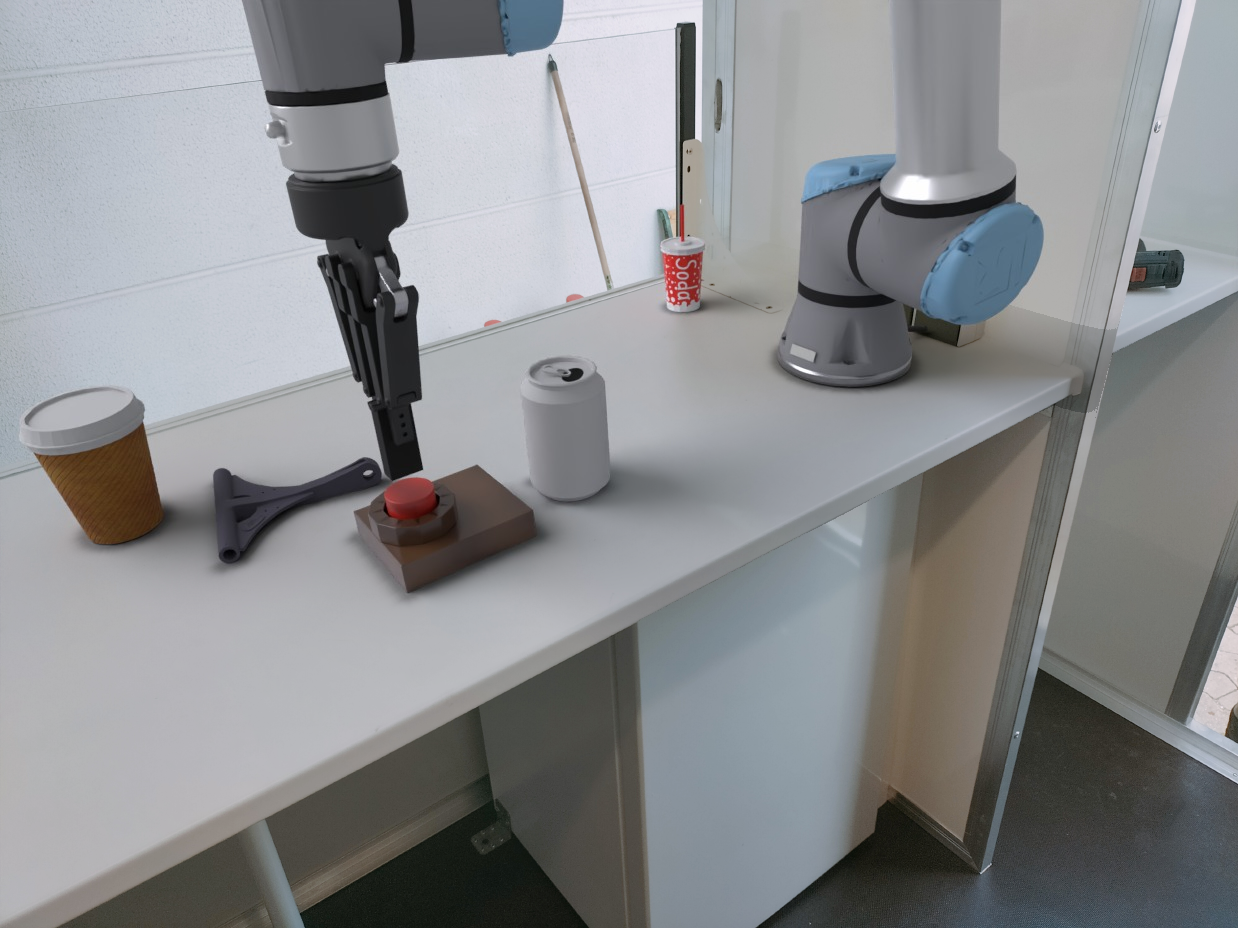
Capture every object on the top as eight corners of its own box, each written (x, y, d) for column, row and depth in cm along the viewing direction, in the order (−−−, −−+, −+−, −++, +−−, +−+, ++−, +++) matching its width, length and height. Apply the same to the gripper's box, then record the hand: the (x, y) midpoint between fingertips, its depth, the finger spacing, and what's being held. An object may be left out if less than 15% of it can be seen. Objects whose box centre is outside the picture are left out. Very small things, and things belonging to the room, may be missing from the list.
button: (424, 489, 73) (421, 471, 72) (445, 509, 70) (442, 491, 69) (380, 506, 71) (376, 488, 70) (400, 527, 68) (396, 509, 67)
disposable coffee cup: (190, 531, 76) (145, 412, 70) (70, 569, 72) (12, 446, 66) (174, 485, 83) (133, 373, 77) (64, 518, 79) (11, 402, 73)
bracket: (398, 518, 76) (392, 492, 75) (221, 565, 71) (212, 538, 70) (369, 449, 88) (364, 425, 87) (216, 485, 83) (207, 461, 82)
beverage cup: (656, 313, 117) (654, 210, 110) (667, 298, 122) (664, 199, 115) (700, 315, 116) (700, 211, 109) (709, 300, 121) (709, 199, 114)
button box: (481, 488, 80) (474, 447, 78) (536, 536, 73) (531, 492, 71) (359, 536, 74) (348, 493, 72) (407, 593, 67) (396, 547, 65)
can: (601, 509, 76) (593, 388, 70) (521, 503, 78) (506, 384, 71) (618, 466, 82) (611, 351, 76) (543, 461, 84) (531, 348, 78)
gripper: (256, 163, 59) (330, 456, 71) (321, 194, 50) (393, 524, 62) (359, 147, 63) (413, 428, 75) (437, 173, 54) (484, 488, 66)
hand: (404, 471), depth 68 cm, fingers closed
